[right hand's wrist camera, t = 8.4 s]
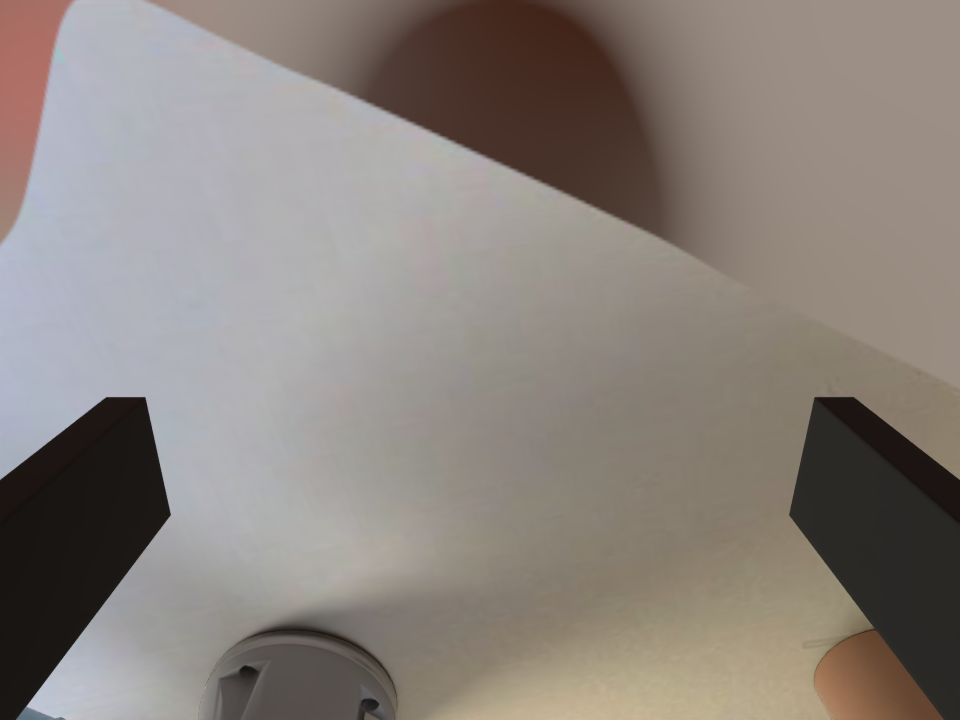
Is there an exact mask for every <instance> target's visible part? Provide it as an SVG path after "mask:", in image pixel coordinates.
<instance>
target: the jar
mask: <svg viewBox="0 0 960 720" xmlns="http://www.w3.org/2000/svg"><path fill="white" fill-rule="evenodd" d="M814 687H815V691H816V694H817V696H818V698H819V699H820V701H821V703H822V705H823V707H824V708H825V710H826V712H827V714H828V716H829V717H830V719H831V720H944V719H943V718H942V717H941V715H940V714H939V713H938V711H937V710H936V709H935V707H934V706H933V705H932V703H931V702H930V701H929V699H928V698H927V697H926V695H925V694H924V693H923V692H922V690H921V689H920V688H919V686H918V685H917V684H916V682H915V681H914V680H913V678H912V677H911V676H910V674H909V673H908V672H907V670H906V669H905V668H904V666H903V665H902V664H901V662H900V661H899V660H898V658H897V657H896V656H895V654H894V653H893V652H892V650H891V649H890V648H889V646H888V645H887V644H886V643H885V641H884V640H883V639H882V637H881V636H880V635H879V633H878V632H877V631H876V630H872V631H867V632H863V633H860V634H857V635H855V636H852V637H850V638H848V639H846V640H844V641H842V642H841V643H839V644H838V645H836V646H835V647H834V648H832V649H831V650H830V651H829V652H828V653H827V654H826V655H825V656H824V657H823V659H822V660H821V662H820V663H819V665H818V667H817V669H816V672H815V676H814Z"/></svg>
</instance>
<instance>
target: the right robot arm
mask: <svg viewBox="0 0 960 720" xmlns="http://www.w3.org/2000/svg"><path fill="white" fill-rule="evenodd" d="M170 515H171V514H170V509H169V504H168V500H167V495H166V490H165V486H164V481H163V477H162V472H161V467H160V463H159V458H158V453H157V449H156V444H155V440H154V435H153V430H152V426H151V421H150V416H149V412H148V407H147V403H146V398H145V397H106V398H105V399H103V400H102V401H101V402H100V403H98V404H97V405H96V406H94V407H93V408H92V409H91V410H89V411H88V412H87V413H85V414H84V415H83V416H82V417H80V418H79V419H78V420H77V421H75V422H74V423H73V424H71V425H70V426H69V427H68V428H66V429H65V430H64V431H62V432H61V433H60V434H59V435H57V436H56V437H55V438H53V439H52V440H51V441H50V442H48V443H47V444H46V445H44V446H43V447H42V448H41V449H39V450H38V451H37V452H36V453H34V454H33V455H32V456H30V457H29V458H28V459H27V460H25V461H24V462H23V463H21V464H20V465H19V466H18V467H16V468H15V469H14V470H12V471H11V472H10V473H9V474H7V475H6V476H5V477H3V478H2V479H1V480H0V720H66V719H64V718H61V717H60V718H56V719H55V718H53V717H50V716H48V715H45V714H43V713H40V712H38V711H35V710H33V709H30V708H28V707H26V706H27V705H28V703H29V702H30V701H31V699H32V698H33V697H34V695H35V694H36V693H37V692H38V690H39V689H40V688H41V686H42V685H43V684H44V682H45V681H46V680H47V678H48V677H49V676H50V674H51V673H52V672H53V670H54V669H55V668H56V666H57V665H58V664H59V662H60V661H61V660H62V658H63V657H64V656H65V654H66V653H67V652H68V650H69V649H70V648H71V646H72V645H73V644H74V643H75V641H76V640H77V639H78V637H79V636H80V635H81V633H82V632H83V631H84V629H85V628H86V627H87V625H88V624H89V623H90V621H91V620H92V619H93V617H94V616H95V615H96V613H97V612H98V611H99V609H100V608H101V607H102V605H103V604H104V603H105V601H106V600H107V599H108V598H109V596H110V595H111V594H112V592H113V591H114V590H115V588H116V587H117V586H118V584H119V583H120V582H121V580H122V579H123V578H124V576H125V575H126V574H127V572H128V571H129V570H130V568H131V567H132V566H133V564H134V563H135V562H136V560H137V559H138V558H139V556H140V555H141V554H142V552H143V551H144V550H145V549H146V547H147V546H148V545H149V543H150V542H151V541H152V539H153V538H154V537H155V535H156V534H157V533H158V531H159V530H160V529H161V527H162V526H163V525H164V523H165V522H166V521H167V519H168V518H169V517H170ZM789 515H790V517H791V518H792V519H793V521H794V522H795V523H796V525H797V526H798V527H799V529H800V530H801V531H802V533H803V534H804V535H805V537H806V538H807V539H808V541H809V542H810V543H811V545H812V546H813V547H814V549H815V550H816V551H817V552H818V554H819V555H820V556H821V558H822V559H823V560H824V562H825V563H826V564H827V566H828V567H829V568H830V570H831V571H832V572H833V574H834V575H835V576H836V578H837V579H838V580H839V582H840V583H841V584H842V586H843V587H844V588H845V590H846V591H847V592H848V594H849V595H850V596H851V598H852V599H853V600H854V601H855V603H856V604H857V605H858V607H859V608H860V609H861V611H862V612H863V613H864V615H865V616H866V617H867V619H868V620H869V621H870V623H871V624H872V625H873V627H874V628H875V629H876V631H877V632H878V633H879V635H880V636H881V637H882V639H883V640H884V641H885V643H886V644H887V645H888V646H889V648H890V649H891V650H892V652H893V653H894V654H895V656H896V657H897V658H898V660H899V661H900V662H901V664H902V665H903V666H904V668H905V669H906V670H907V672H908V673H909V674H910V676H911V677H912V678H913V680H914V681H915V682H916V684H917V685H918V686H919V688H920V689H921V690H922V692H923V693H924V694H925V695H926V697H927V698H928V699H929V701H930V702H931V703H932V705H933V706H934V707H935V709H936V710H937V711H938V713H939V714H940V715H941V717H942V718H943V719H944V720H960V480H959V479H958V478H957V477H955V476H954V475H953V474H951V473H950V472H949V471H948V470H946V469H945V468H944V467H942V466H941V465H940V464H939V463H937V462H936V461H935V460H933V459H932V458H931V457H930V456H928V455H927V454H926V453H924V452H923V451H922V450H921V449H919V448H918V447H917V446H916V445H914V444H913V443H912V442H910V441H909V440H908V439H907V438H905V437H904V436H903V435H901V434H900V433H899V432H898V431H896V430H895V429H894V428H892V427H891V426H890V425H889V424H887V423H886V422H885V421H883V420H882V419H881V418H880V417H878V416H877V415H876V414H875V413H873V412H872V411H871V410H869V409H868V408H867V407H866V406H864V405H863V404H862V403H860V402H859V401H858V400H857V399H855V398H854V397H815V398H814V403H813V407H812V412H811V416H810V421H809V426H808V430H807V435H806V440H805V444H804V449H803V453H802V458H801V463H800V467H799V472H798V477H797V481H796V486H795V490H794V495H793V500H792V504H791V509H790V514H789ZM396 715H397V698H396V693H395V690H394V687H393V684H392V682H391V680H390V678H389V677H388V675H387V674H386V672H385V671H384V670H383V669H382V667H381V666H380V665H379V664H378V663H377V662H376V661H375V660H374V659H373V658H371V657H370V656H369V655H368V654H366V653H365V652H364V651H362V650H361V649H359V648H357V647H356V646H354V645H352V644H350V643H348V642H346V641H343V640H341V639H338V638H335V637H332V636H329V635H325V634H321V633H316V632H310V631H300V630H285V631H275V632H268V633H264V634H260V635H257V636H254V637H251V638H249V639H246V640H244V641H242V642H240V643H239V644H237V645H235V646H234V647H232V648H231V649H230V650H229V651H227V652H226V653H225V654H224V655H223V656H222V657H221V658H220V660H219V661H218V662H217V664H216V665H215V667H214V669H213V671H212V673H211V675H210V677H209V679H208V681H207V684H206V686H205V689H204V692H203V696H202V699H201V702H200V707H199V717H198V720H396Z"/></svg>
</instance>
